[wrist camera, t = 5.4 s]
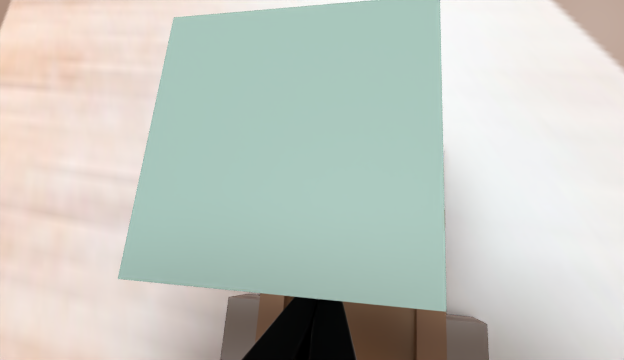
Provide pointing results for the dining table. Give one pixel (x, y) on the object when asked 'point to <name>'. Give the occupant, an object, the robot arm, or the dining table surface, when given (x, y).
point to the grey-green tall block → (298, 156)
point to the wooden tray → (366, 330)
